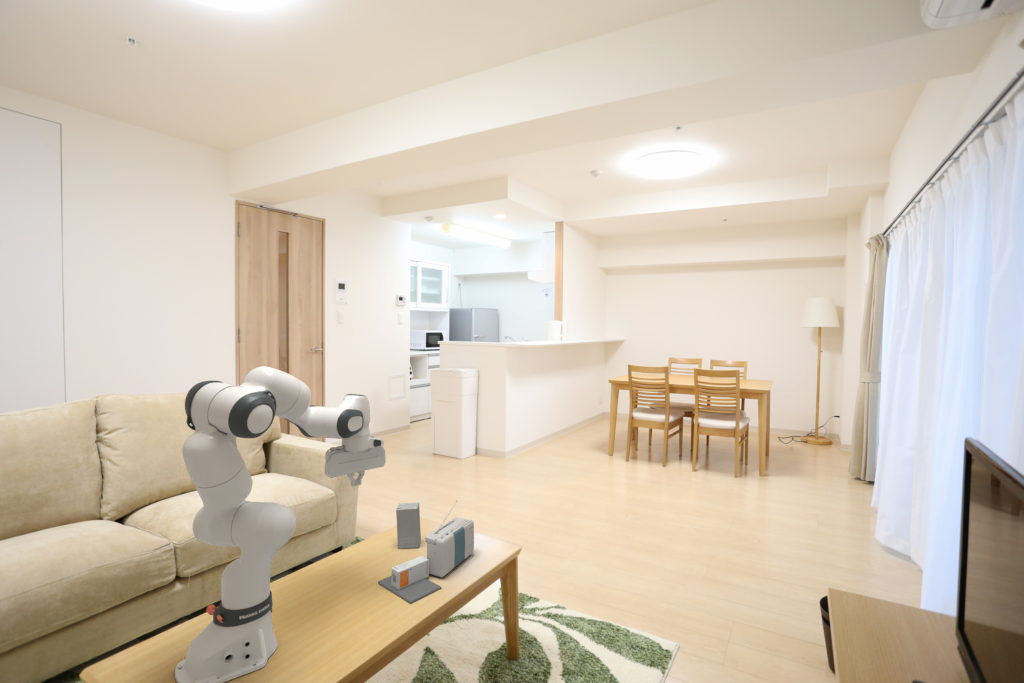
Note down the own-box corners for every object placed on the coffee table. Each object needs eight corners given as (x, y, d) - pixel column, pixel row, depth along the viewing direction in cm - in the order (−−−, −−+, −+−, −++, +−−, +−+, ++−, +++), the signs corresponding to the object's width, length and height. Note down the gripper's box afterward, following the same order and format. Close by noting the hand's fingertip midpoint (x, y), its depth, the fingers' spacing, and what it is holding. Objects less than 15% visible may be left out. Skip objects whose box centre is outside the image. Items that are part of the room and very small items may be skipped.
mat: (410, 603, 150) (410, 602, 150) (377, 583, 162) (377, 581, 162) (441, 588, 159) (441, 586, 159) (407, 570, 171) (407, 568, 171)
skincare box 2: (398, 572, 157) (429, 559, 165) (391, 567, 160) (421, 554, 168) (398, 590, 157) (429, 576, 166) (391, 585, 160) (421, 572, 169)
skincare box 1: (420, 541, 195) (420, 501, 194) (418, 549, 188) (418, 508, 187) (399, 541, 194) (399, 501, 194) (396, 549, 187) (395, 508, 187)
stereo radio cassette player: (443, 580, 164) (443, 521, 164) (423, 575, 168) (423, 517, 167) (475, 554, 183) (475, 501, 183) (456, 550, 187) (456, 498, 186)
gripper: (330, 450, 152) (330, 494, 152) (388, 439, 166) (388, 480, 167) (320, 446, 156) (320, 490, 156) (377, 437, 171) (377, 477, 171)
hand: (356, 485), depth 161 cm, fingers closed
